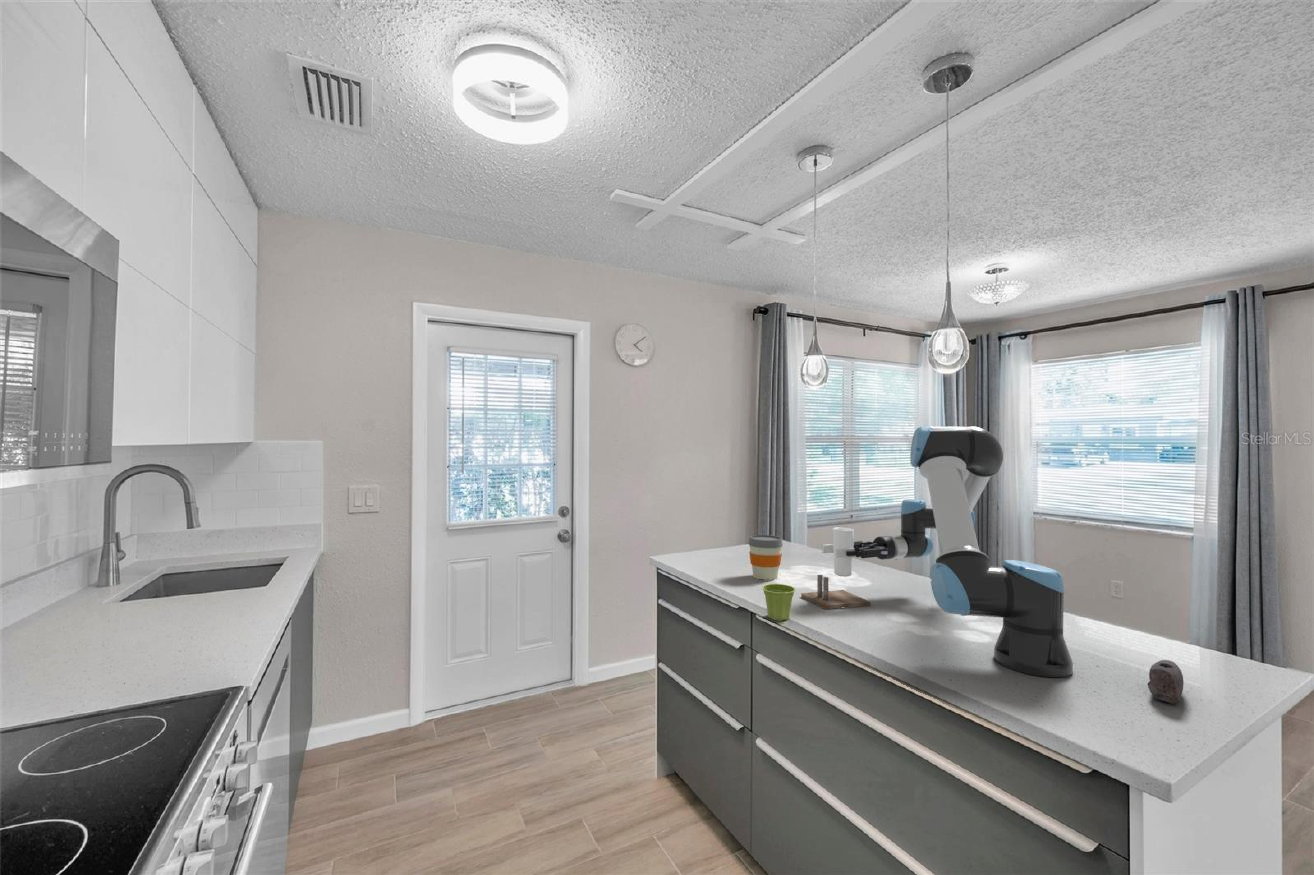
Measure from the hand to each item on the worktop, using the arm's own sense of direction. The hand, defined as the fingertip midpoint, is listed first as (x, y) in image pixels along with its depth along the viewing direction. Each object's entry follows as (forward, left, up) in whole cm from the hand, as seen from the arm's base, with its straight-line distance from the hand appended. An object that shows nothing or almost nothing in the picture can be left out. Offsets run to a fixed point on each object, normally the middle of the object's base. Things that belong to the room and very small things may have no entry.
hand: (829, 551), depth 176 cm
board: (+2, -1, -16) cm, 16 cm away
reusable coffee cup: (+12, +31, -16) cm, 38 cm away
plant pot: (-26, +3, -16) cm, 31 cm away
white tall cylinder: (+4, -3, -8) cm, 10 cm away
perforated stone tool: (-13, -80, -16) cm, 82 cm away
